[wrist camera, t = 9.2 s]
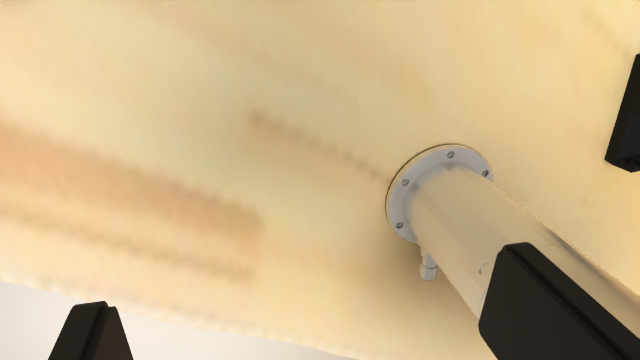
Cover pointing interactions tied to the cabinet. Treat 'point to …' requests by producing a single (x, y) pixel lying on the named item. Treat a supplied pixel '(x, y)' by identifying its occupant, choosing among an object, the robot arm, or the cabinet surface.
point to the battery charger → (627, 126)
